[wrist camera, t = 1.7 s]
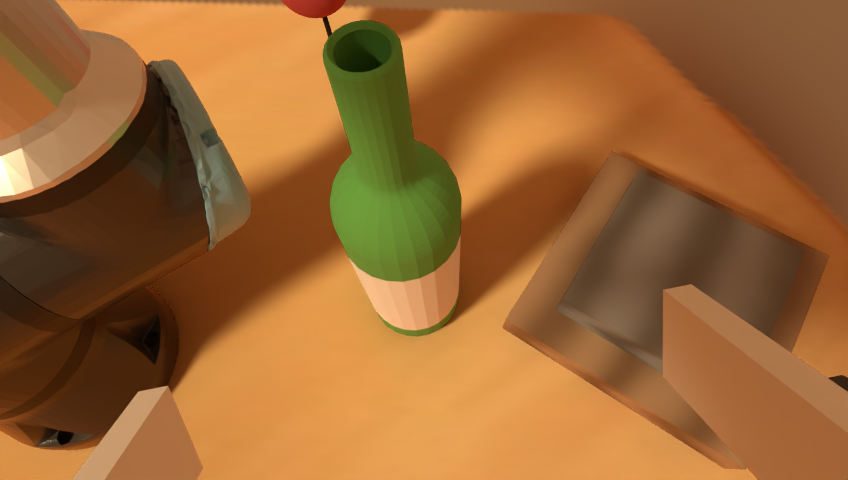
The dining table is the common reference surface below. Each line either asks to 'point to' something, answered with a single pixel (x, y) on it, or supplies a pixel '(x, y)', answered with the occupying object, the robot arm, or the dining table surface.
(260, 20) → the dining table surface
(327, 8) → the lollipop
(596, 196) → the plinth
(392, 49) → the wine bottle
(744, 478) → the dining table surface
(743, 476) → the dining table surface
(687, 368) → the robot arm
